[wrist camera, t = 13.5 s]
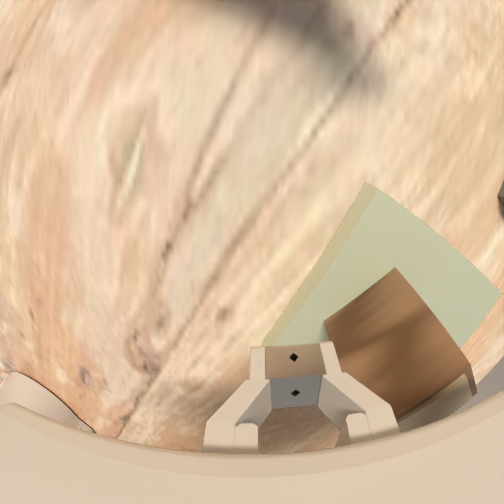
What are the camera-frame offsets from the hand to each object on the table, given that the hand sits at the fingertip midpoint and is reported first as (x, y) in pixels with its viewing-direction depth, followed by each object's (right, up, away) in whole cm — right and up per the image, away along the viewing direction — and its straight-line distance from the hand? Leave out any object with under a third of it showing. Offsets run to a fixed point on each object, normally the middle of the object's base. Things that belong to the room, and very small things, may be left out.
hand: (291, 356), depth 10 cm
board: (+11, -1, +10) cm, 15 cm away
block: (+7, 0, +8) cm, 10 cm away
